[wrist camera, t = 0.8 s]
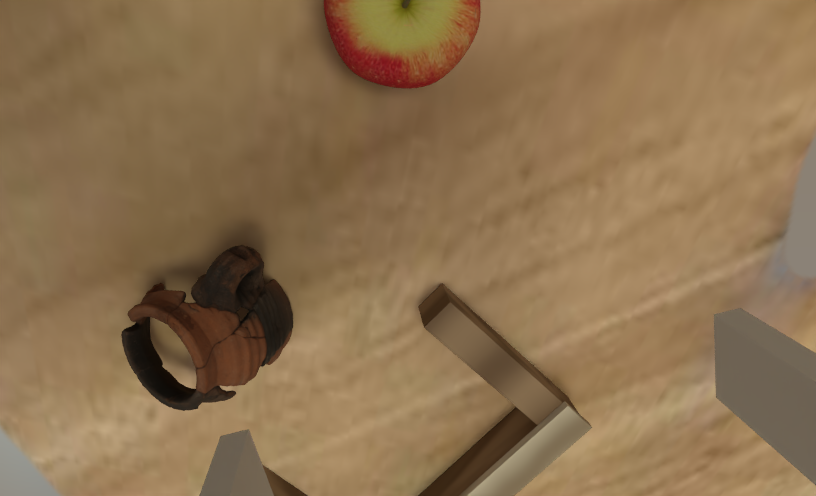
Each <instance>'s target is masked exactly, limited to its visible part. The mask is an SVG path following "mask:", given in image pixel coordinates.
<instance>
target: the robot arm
mask: <svg viewBox="0 0 816 496" xmlns="http://www.w3.org/2000/svg"><path fill="white" fill-rule="evenodd" d="M714 338H715V377H716V398H717V399H719V400H720V401H721V402H722V403H723V404H724V405H725V406H727V407H728V408H729V409H730V410H731V411H732V412H733V413H734V414H736V415H737V416H738V417H739V418H740V419H741V420H742V421H743V422H745V423H746V424H747V425H748V426H749V427H750V428H751V429H753V430H754V431H755V432H756V433H757V434H758V435H759V436H760V437H762V438H763V439H764V440H765V441H766V442H767V443H768V444H769V445H771V446H772V447H773V448H774V449H775V450H776V451H777V452H779V453H780V454H781V455H782V456H783V457H784V458H785V459H786V460H788V461H789V462H790V463H791V464H792V465H793V466H794V467H795V468H797V469H798V470H799V471H800V472H801V473H802V474H803V475H805V476H806V477H807V478H808V479H809V480H810V481H811V482H812V483H814V484H815V485H816V353H814V352H813V351H811V350H809V349H808V348H806V347H804V346H803V345H801V344H799V343H798V342H796V341H794V340H793V339H791V338H789V337H788V336H786V335H784V334H783V333H781V332H779V331H778V330H776V329H774V328H773V327H771V326H769V325H768V324H766V323H764V322H763V321H761V320H759V319H758V318H756V317H754V316H753V315H751V314H749V313H748V312H746V311H744V310H743V309H741V308H738V309H734V310H730V311H726V312H722V313H718V314H714ZM200 496H274V494H273V492H272V489H271V487H270V484H269V481H268V479H267V476H266V473H265V471H264V468H263V465H262V463H261V460H260V458H259V455H258V452H257V450H256V447H255V444H254V442H253V439H252V436H251V434H250V431H249V429H248V430H244V431H239V432H235V433H231V434H227V435H223V436H221V437H220V440H219V443H218V445H217V448H216V451H215V454H214V457H213V459H212V462H211V465H210V468H209V471H208V473H207V476H206V479H205V482H204V485H203V487H202V490H201V493H200Z"/></svg>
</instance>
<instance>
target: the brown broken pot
mask: <svg viewBox="0 0 816 496" xmlns="http://www.w3.org/2000/svg"><path fill="white" fill-rule="evenodd" d="M263 268H264V262H263V260H262V258H261V256H260V254H259V253H258V252H257V251H256V250H254V249H252V248H249V247H247V246H243V245H241V246H235V247H232V248H230V249H228V250H226V251H224V252H223V253H222V254H221V255H219V256H218V257H217V258H216V259H215V261H214V262H213V263H212V265H211V266H210V268H209V269H208V270H207V272H206V274H205V275H202V276H200V277H199V278H198V280H197V282H196V283H195V285H194V286H193V287H192V291H191V295H192V297H193V299H194V300H195V301H196V303H186V302H184V300H185V298H186V293H185V292H183V291H172V290H171V291H169V290H164V285H163V284H162V283H160V284H159V285H155V286H153V288H152V289H151V290H150V291H148V292H147V293H146V295H145V297H144V298H143V300H142V302H141V304H138V305H136V306H134V307H133V308H132V309H131V310H130V311H129V312H128V316H129V318H130V320H131V321H133V322H136V323H135V325H133V326H131V327H128V328H126V329H124V330H123V331H122V343H123V347H124V351H125V355H126V357H127V360H128V362H129V364H130V366H131V368H132V369H133V371H134V373H135V374H136V375H137V377H138V379H139V380H140V382H141V383H142V385H143V386H144V387H145V388H146V389H147V390H148V391H149V392H150V393H151V395H153V396H154V397H155V398H156V399H158V400H159V401H160V402H161V403H163V404H165V405H167V406H168V407H172V408H174V409H178V410H183V411H184V410H193V409H198V406H199V405H200V404H201V403H202V402H208V403H210V402H218V401H225V400H228V399H230V398H232V397H233V396H234V395H235V394H236V392H235V391H227V392H226V391H225V390H222V389H221V388H220V386H219V385H222V386H238V385H245V384H246V383H247V382H248V381H250V380H251V379H253V378H254V377H255V376H256V374H257V372H258V369H259V367H260V366H264V365H265V364H268V365H270V364H272V363H273V362H274V361H275V360H276V359H277V358H278V357H279V355H280V354H281V351H282V349H283V348H284V347H285V346H286V344H287V343H288V341H289V339H290V336H291V333H292V328H293V314H292V311H291V307H290V303H289V300H288V298H287V296H286V294H285V293H284V292H283V290H282V288H281V287H280V286H279V284H278V283H277V282H276V281H275V280H272V281H270V282H269V283H267V284H265V285H264V279H263V277H262V276H263V274H262V273H263ZM240 307H243V308H246V309H248V310H249V312H248V313H247V315H246V316H245V317H244V319H243V320H242V321H240V319H239V316H238V314H237V313H236V311H238V310H239V309H240ZM150 317H152V318H155V319H158V320H159V321H162V322H164V323H166V324H168V325H169V327H170V328H171V329H172V330H173V331H174V332H175V333H176V334H177V335H178V336H179V338H180V339H181V340H182V342H183V343H184V345H185V346H186V348H187V349H188V351H189V353H190V355H191V357H192V360H193V363H194V365H195V367H196V375H197V384H196V389H191V388H188V387H185V386H184V385H182V384H180V383H179V382H178V381H177V380H176V379H175V378H174V377H173V376H172V374H170V373H169V372H168V371H167V370H166V369H164V368H163V367H162V365H163V363H162V360H161V359H160V357H159V355H158V353H157V352H156V350H155V348H154V346H153V344H152V341H151V336H150Z"/></svg>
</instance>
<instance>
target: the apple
mask: <svg viewBox="0 0 816 496" xmlns="http://www.w3.org/2000/svg"><path fill="white" fill-rule="evenodd" d="M324 10H325V17H326V22H327V26H328V29H329V32H330V35H331V38H332V41H333V43H334V45H335V48H336V50H337V51H338V53H339V55H340V57H341V58H342V60H343V61H344V63H345V64H346V65H347V66H348V67H349V68H350V69H351V70H352V71H353V72H354V73H355V74H357V75H358V76H360V77H362V78H364V79H366V80H368V81H371V82H374V83H377V84H380V85H384V86H389V87H396V88H418V87H424V86H427V85H430V84H432V83H434V82H436V81H438V80H439V79H441V78H442V77H444V76H445V75H446V74H447V73H449V72H450V71H451V70H452V69H453V68H454V67H455V66H456V65H457V63H458V62H459V61H460V60H461V59H462V57H463V56H464V55H465V53H466V52H467V50H468V49H469V47H470V45H471V43H472V41H473V40H474V37H475V35H476V33H477V30H478V27H479V22H480V0H324Z"/></svg>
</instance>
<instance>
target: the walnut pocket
mask: <svg viewBox="0 0 816 496" xmlns="http://www.w3.org/2000/svg"><path fill="white" fill-rule="evenodd" d="M419 311H420V314H421V318H422V322H423V325H424V328H425V329H426V330H428V331H429V332H430V333H431V334H432V335H433V336H435V337H436V338H437V339H438V340H439V341H440V342H441V343H443V344H444V345H445V346H446V347H447V348H448V349H450V350H451V351H452V352H453V353H454V354H455V355H457V356H458V357H459V358H460V359H461V360H462V361H464V362H465V363H466V364H467V365H468V366H469V367H471V368H472V369H473V370H474V371H475V372H476V373H477V374H479V375H480V376H481V377H482V378H483V379H484V380H486V381H487V382H488V383H489V384H490V385H491V386H493V387H494V388H495V389H496V390H497V391H498V392H500V393H501V394H502V395H503V396H504V397H505V398H507V399H508V400H509V401H510V402H511V403H512V404H513V405H515V406H516V408H515V409H514V410H513V411H512V412H511V413H509V414H508V415H507V416H506V417H505V418H504V419H503V420H502V421H501V422H500V423H498V424H497V425H496V426H495V427H494V428H493V429H492V430H491V431H490V432H489V433H487V434H486V435H485V436H484V437H483V438H482V439H481V440H480V441H479V442H477V443H476V444H475V445H474V446H473V447H472V448H471V449H470V450H469V451H468V452H466V453H465V454H464V455H463V456H462V457H461V458H460V459H459V460H458V461H457V462H455V463H454V464H453V465H452V466H451V467H450V468H449V469H448V470H447V471H446V472H444V473H443V474H442V475H441V476H440V477H439V478H438V479H437V480H436V481H434V482H433V483H432V484H431V485H430V486H429V487H428V488H427V489H426V490H425V491H423V492H422V493H421V494H420V495H419V496H514V495H516V494H517V493H518V492H519V491H520V490H521V489H522V488H524V487H525V486H526V485H527V484H528V483H529V482H530V481H532V480H533V479H534V478H535V477H536V476H537V475H538V474H540V473H541V472H542V471H543V470H544V469H545V468H546V467H548V466H549V465H550V464H551V463H552V462H553V461H554V460H556V459H557V458H558V457H559V456H560V455H561V454H563V453H564V452H565V451H566V450H567V449H568V448H569V447H571V446H572V445H573V444H574V443H575V442H576V441H577V440H579V439H580V438H581V437H582V436H583V435H584V434H585V433H587V432H588V431H589V430H590V429H591V428H592V427H591V425H590V424H589V422H587V421H586V420H585V419H584V418H583V417H582V416H581V415H580V414H579V413H578V411H577V410H576V408H575V407H574V405H573V404H572V403H571V401H570V400H569V398H568V397H567V396H566V395H565V394H564V393H563V392H562V391H561V390H560V389H558V388H557V387H556V386H555V385H554V384H553V383H552V382H551V381H550V380H548V379H547V378H546V377H545V376H544V375H543V374H542V373H541V372H540V371H539V370H537V369H536V368H535V367H534V366H533V365H532V364H531V363H530V362H529V361H527V360H526V359H525V358H524V357H523V356H522V355H521V354H520V353H519V352H518V351H516V350H515V349H514V348H513V347H512V346H511V345H510V344H509V343H508V342H506V341H505V340H504V339H503V338H502V337H501V336H500V335H499V334H498V333H497V332H495V331H494V330H493V329H492V328H491V327H490V326H489V325H488V324H487V323H485V322H484V321H483V320H482V319H481V318H480V317H479V316H478V315H477V314H476V313H474V312H473V311H472V310H471V309H470V308H469V307H468V306H467V305H466V304H464V303H463V302H462V301H461V300H460V299H459V298H458V297H457V296H456V295H455V294H453V293H452V292H451V291H450V290H449V289H448V288H447V287H446V286H445V285H443V284H441V285H440V286H439V287H438V288H437V289H436V290H435V291H434V292H433V293H432V294H431V295H430V296H429V297H428V298H427V299H426V300H425V301H424V302H423V303H422V304H421V305H420V306H419ZM263 468H264V471H265V473H266V476H267V479H268V481H269V484H270V487H271V489H272V492H273V494H274V496H307V495H305V494H304V493H302V492H301V491H299V490H298V489H296V488H295V487H294V486H292V485H291V484H289V483H288V482H286V481H285V480H283V479H282V478H280V477H279V476H277V475H276V474H275V473H273V472H272V471H270V470H269V469H267V468H266V467H264V466H263Z"/></svg>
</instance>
